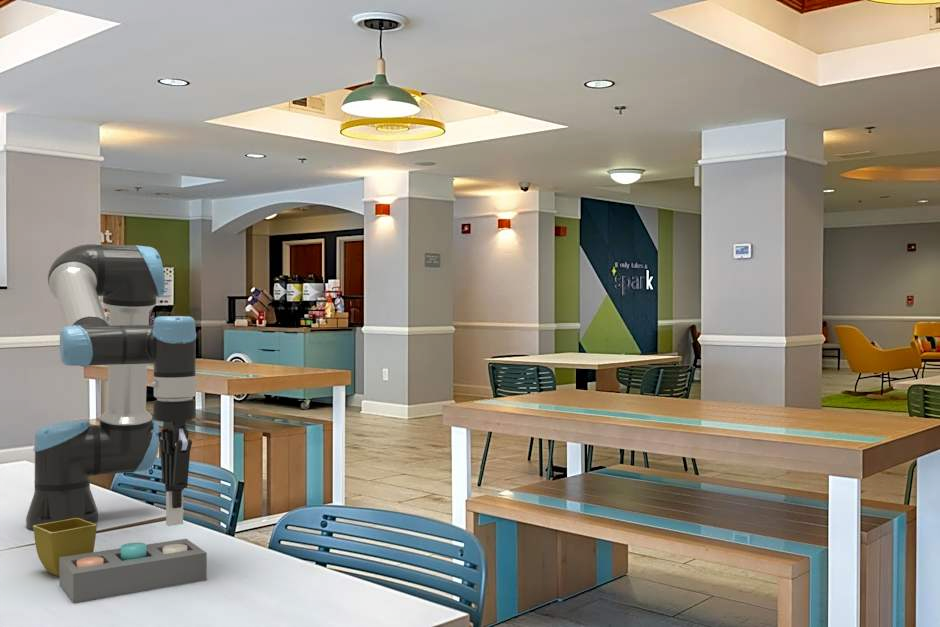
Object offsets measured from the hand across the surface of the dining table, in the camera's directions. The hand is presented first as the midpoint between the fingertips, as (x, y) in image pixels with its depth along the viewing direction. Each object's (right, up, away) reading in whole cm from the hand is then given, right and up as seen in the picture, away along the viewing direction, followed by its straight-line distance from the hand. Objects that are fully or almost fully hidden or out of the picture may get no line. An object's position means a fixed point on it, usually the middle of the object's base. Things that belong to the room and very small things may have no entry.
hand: (174, 523), depth 171 cm
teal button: (-6, -6, -4) cm, 10 cm away
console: (-6, -10, -4) cm, 12 cm away
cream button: (0, -8, 0) cm, 8 cm away
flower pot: (-21, -10, +2) cm, 24 cm away
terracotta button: (-12, -8, -9) cm, 17 cm away
